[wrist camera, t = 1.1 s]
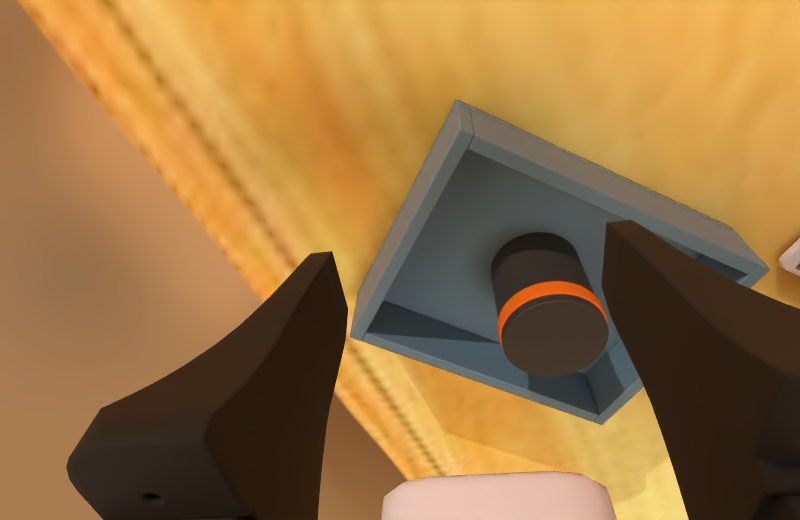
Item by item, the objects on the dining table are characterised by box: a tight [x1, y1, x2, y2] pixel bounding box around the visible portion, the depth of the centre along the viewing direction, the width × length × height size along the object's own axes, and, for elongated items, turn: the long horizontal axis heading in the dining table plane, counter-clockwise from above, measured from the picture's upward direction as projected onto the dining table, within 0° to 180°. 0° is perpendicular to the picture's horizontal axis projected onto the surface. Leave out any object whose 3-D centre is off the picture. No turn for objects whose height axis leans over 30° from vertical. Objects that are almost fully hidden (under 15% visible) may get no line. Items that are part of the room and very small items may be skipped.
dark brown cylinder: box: [491, 232, 609, 376], centre depth 23 cm, size 4×4×5 cm
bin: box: [350, 100, 770, 425], centre depth 24 cm, size 14×11×3 cm
